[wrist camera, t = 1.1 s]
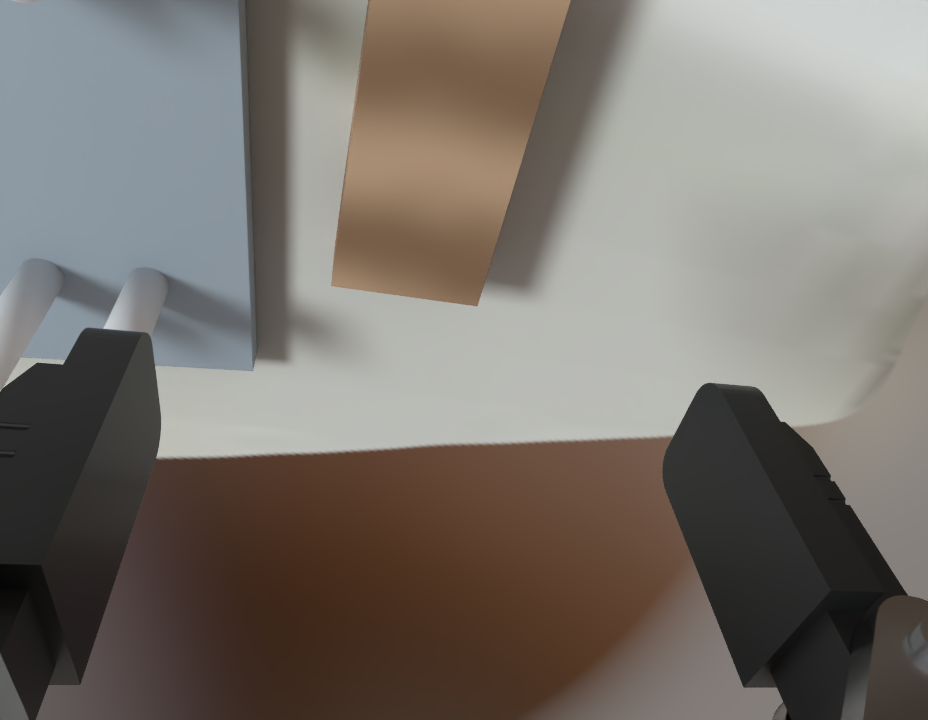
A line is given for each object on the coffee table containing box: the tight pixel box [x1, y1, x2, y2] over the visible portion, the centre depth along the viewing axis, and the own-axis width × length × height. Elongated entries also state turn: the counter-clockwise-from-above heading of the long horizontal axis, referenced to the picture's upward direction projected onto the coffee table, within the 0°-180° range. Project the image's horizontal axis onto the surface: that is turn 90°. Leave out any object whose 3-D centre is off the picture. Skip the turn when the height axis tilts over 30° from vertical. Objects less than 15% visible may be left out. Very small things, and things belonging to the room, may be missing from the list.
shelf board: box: [331, 0, 571, 306], centre depth 24 cm, size 18×6×4 cm, turn 167°
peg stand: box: [0, 0, 257, 390], centre depth 22 cm, size 22×12×8 cm, turn 171°
